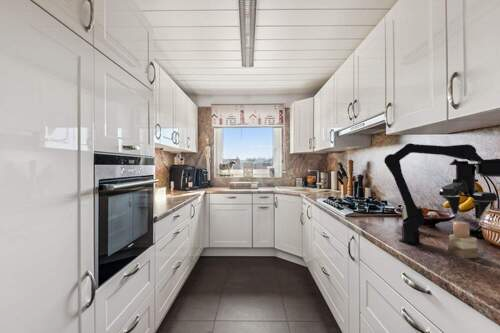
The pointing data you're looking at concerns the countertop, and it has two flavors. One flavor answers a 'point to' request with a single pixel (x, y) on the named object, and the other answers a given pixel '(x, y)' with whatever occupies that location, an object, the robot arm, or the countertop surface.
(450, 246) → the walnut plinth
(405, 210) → the box
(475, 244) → the maple block
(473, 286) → the countertop surface
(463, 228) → the tan rounded piece
